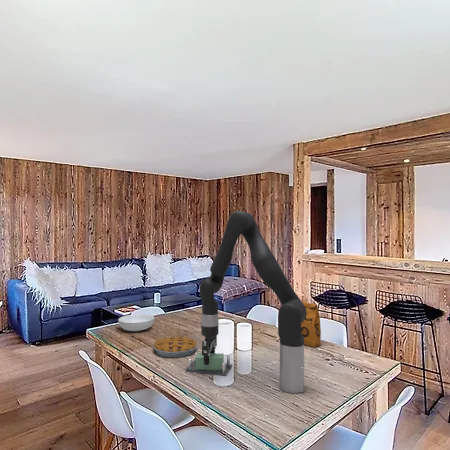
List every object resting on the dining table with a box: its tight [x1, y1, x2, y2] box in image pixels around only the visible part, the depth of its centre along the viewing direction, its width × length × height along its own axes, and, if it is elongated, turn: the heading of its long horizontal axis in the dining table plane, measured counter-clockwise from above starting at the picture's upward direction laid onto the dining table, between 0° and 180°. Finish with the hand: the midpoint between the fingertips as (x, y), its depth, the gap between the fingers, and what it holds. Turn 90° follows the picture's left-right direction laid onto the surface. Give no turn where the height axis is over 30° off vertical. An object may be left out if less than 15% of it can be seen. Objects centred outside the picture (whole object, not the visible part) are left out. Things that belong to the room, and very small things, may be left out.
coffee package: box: [301, 301, 322, 348], centre depth 190 cm, size 10×12×22 cm
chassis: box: [185, 351, 233, 377], centre depth 155 cm, size 18×11×5 cm, turn 75°
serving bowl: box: [118, 313, 155, 332], centre depth 214 cm, size 21×21×7 cm
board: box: [194, 352, 225, 370], centre depth 155 cm, size 12×6×5 cm, turn 89°
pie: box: [153, 336, 198, 358], centre depth 177 cm, size 22×22×5 cm
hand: (209, 360), depth 155 cm, fingers open, 8 cm apart
